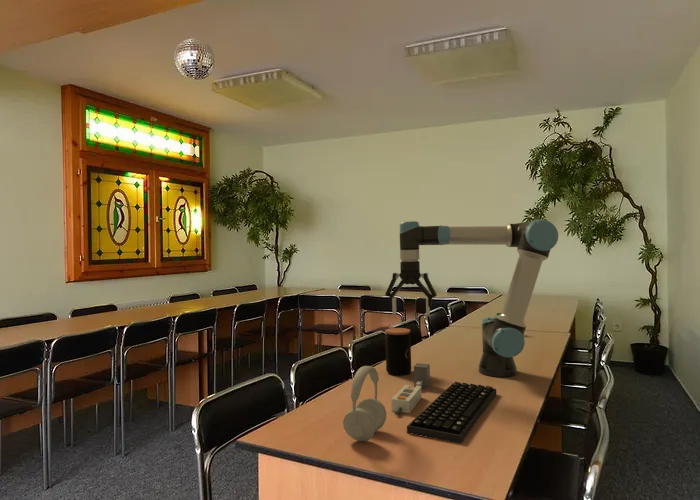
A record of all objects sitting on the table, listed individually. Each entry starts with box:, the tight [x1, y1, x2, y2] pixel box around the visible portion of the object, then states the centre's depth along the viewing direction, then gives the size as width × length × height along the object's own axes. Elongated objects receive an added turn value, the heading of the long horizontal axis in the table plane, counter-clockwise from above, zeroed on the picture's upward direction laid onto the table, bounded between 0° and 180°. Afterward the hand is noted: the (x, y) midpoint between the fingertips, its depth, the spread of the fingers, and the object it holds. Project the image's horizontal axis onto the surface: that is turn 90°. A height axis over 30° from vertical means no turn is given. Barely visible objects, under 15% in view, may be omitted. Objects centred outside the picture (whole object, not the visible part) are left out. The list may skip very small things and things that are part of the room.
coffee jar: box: [384, 327, 412, 376], centre depth 199 cm, size 11×11×18 cm
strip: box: [390, 384, 423, 416], centre depth 158 cm, size 6×20×5 cm, turn 157°
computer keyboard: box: [406, 381, 497, 444], centre depth 152 cm, size 45×16×4 cm, turn 151°
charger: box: [413, 362, 431, 389], centre depth 178 cm, size 5×9×8 cm, turn 157°
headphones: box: [342, 365, 387, 442], centre depth 135 cm, size 19×9×20 cm, turn 157°
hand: (411, 314), depth 184 cm, fingers open, 13 cm apart
